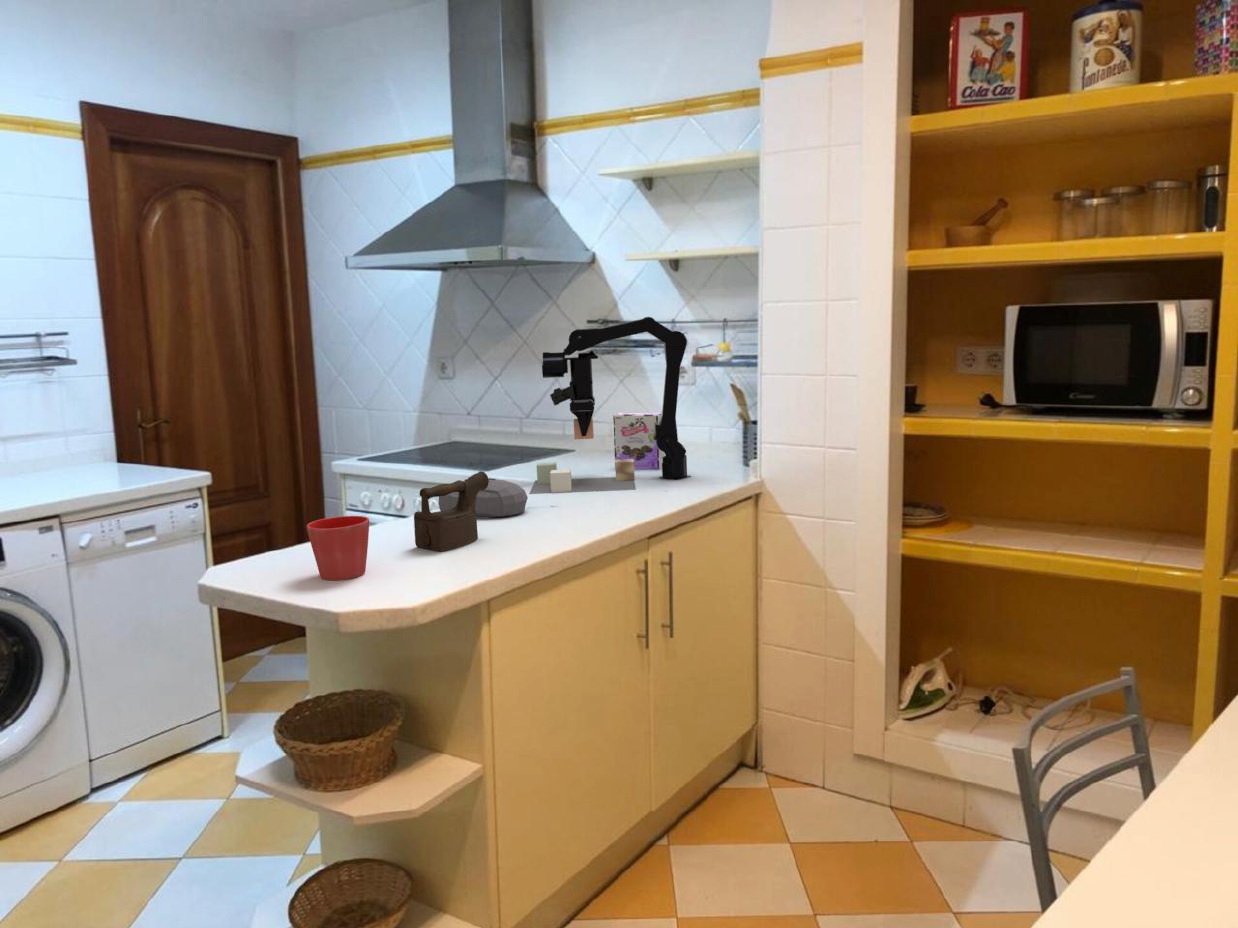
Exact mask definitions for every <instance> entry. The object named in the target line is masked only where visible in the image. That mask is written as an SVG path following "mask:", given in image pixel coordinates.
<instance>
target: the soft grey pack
mask: <svg viewBox="0 0 1238 928" xmlns="http://www.w3.org/2000/svg"><path fill="white" fill-rule="evenodd" d="M467 479H468V478H466V479H464V480H463V481H464V482H465V481H466V480H467ZM488 480H489V483H488V487H487V488H486V489H485V490H480V491H479V492H478V494H477V496H476V502H475V511H476V517H491V518H498V517H509V516H515V515H518V514H519V515H520V514H522V513H524V511H525V510H526V504H527V501H528V498H529V496H528V494H527V493H526V490H525V489H524V488H522V487H521V486H520V485H519V484H517V483H514V482H510V481H507V480H504V479H496V478H491V477H490V478H489V477H488ZM458 497H459V492H453V493H450V494H448V495H445V496H439V497H438V506H439V511H444V510H450V509H452V508H454V507H455V506H456V504H457V501H458Z"/></svg>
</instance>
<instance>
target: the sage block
mask: <svg viewBox="0 0 1238 928" xmlns="http://www.w3.org/2000/svg"><path fill="white" fill-rule="evenodd" d="M551 470H558V468H557V462H556V461H553V462H549V461H548V462H537V464H536V478H537V479H536V480H537V484H551V480H550V472H551Z"/></svg>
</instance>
